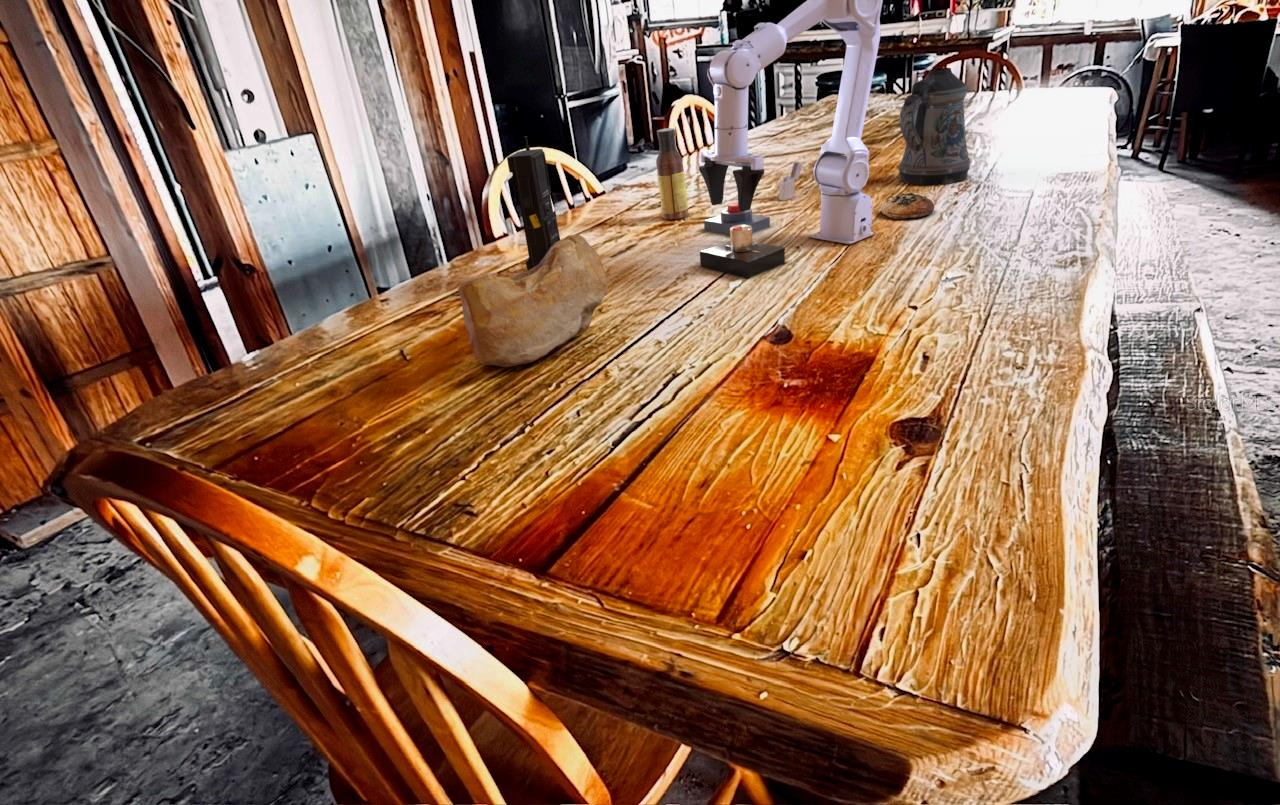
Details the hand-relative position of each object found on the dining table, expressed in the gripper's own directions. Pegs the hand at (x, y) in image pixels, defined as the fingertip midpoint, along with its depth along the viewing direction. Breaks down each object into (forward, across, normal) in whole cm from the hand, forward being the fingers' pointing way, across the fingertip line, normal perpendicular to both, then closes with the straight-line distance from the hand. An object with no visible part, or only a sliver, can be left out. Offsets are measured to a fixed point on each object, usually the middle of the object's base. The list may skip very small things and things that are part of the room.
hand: (730, 207), depth 128 cm
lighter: (+9, -28, +44) cm, 53 cm away
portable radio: (+12, -25, -26) cm, 38 cm away
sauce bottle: (+10, -37, +15) cm, 42 cm away
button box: (+10, -17, +17) cm, 26 cm away
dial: (+7, +2, +1) cm, 8 cm away
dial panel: (+10, +2, +1) cm, 11 cm away
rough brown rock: (+13, +5, -44) cm, 46 cm away
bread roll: (+8, +4, +46) cm, 47 cm away
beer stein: (+7, -11, +76) cm, 77 cm away
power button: (+6, -17, +17) cm, 25 cm away
